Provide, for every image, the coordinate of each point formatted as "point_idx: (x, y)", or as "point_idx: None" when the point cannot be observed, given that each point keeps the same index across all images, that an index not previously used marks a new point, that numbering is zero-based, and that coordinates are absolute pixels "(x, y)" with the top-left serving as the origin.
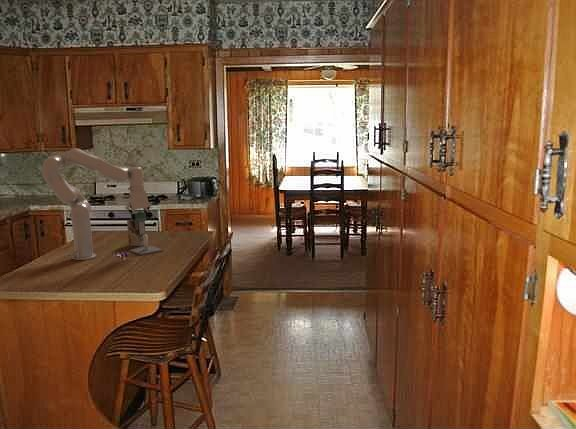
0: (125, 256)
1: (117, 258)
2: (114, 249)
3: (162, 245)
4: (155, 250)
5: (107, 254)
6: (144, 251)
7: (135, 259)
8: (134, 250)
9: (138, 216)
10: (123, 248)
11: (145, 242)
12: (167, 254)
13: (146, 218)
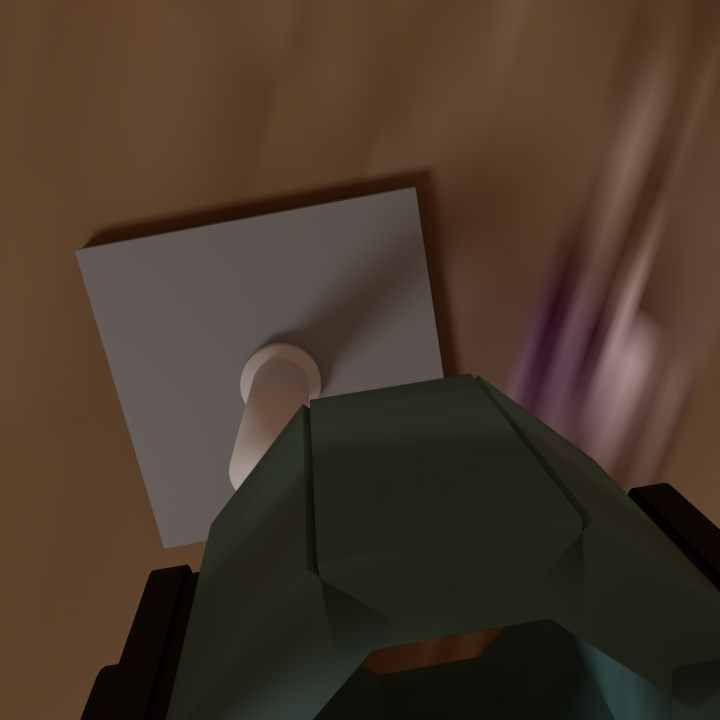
0: (586, 258)
1: (700, 214)
2: None
3: (19, 561)
4: (181, 260)
5: (715, 478)
6: (330, 292)
7: (537, 5)
8: None
9: (589, 492)
10: (475, 651)
11: (288, 392)
12: (60, 11)
13: (190, 577)
